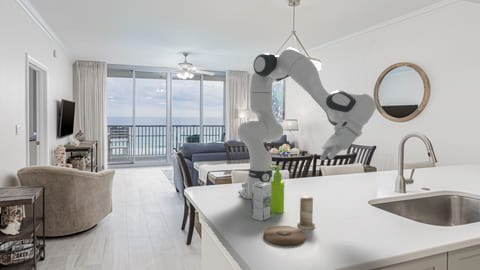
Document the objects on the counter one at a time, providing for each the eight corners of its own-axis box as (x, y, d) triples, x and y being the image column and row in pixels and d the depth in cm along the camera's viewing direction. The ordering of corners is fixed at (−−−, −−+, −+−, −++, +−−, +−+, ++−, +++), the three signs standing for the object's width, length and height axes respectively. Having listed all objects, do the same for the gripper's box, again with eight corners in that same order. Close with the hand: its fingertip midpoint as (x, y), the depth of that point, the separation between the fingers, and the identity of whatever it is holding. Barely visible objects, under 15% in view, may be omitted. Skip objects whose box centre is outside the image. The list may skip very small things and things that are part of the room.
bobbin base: (256, 232, 108) (256, 228, 108) (290, 227, 113) (290, 223, 113) (275, 248, 95) (275, 244, 95) (313, 242, 100) (313, 237, 100)
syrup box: (259, 215, 127) (259, 181, 126) (271, 218, 123) (271, 183, 122) (251, 218, 122) (251, 183, 121) (263, 222, 119) (263, 185, 118)
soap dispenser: (265, 210, 133) (266, 165, 132) (279, 208, 136) (280, 164, 135) (271, 214, 128) (272, 167, 127) (286, 212, 130) (286, 166, 129)
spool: (294, 224, 116) (294, 196, 115) (308, 222, 118) (308, 194, 118) (303, 230, 110) (304, 200, 109) (318, 228, 112) (318, 199, 112)
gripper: (330, 129, 128) (311, 155, 126) (350, 121, 107) (327, 151, 106) (342, 138, 127) (323, 164, 126) (364, 132, 107) (341, 163, 105)
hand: (325, 158), depth 115 cm, fingers open, 8 cm apart
